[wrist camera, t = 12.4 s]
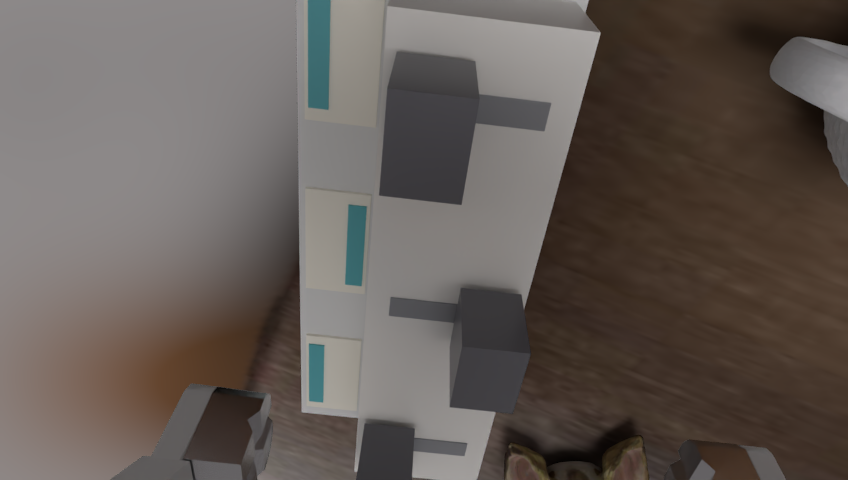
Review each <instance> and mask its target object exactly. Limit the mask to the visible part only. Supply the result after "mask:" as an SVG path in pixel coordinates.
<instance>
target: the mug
mask: <svg viewBox="0 0 848 480" xmlns="http://www.w3.org/2000/svg"><path fill="white" fill-rule="evenodd" d="M770 76H771V79H772V80H773V81H774V82H775V83H777V84H778V85H779V86H781V87H782V88H784V89H785V90H787V91H789V92H791V93H792V94H794V95H796V96H798V97H800V98H802V99H804V100H805V101H807V102H809V103H811V104H813V105H815V106H817V107H819V108H821V109H823V110H824V134H825V136H826V138H827V148H828V149H829V151H830V152H831V154H832V159H833V162H834V164H835V165H836V166H837V168H838V170H839V174H840V176H841V178H842V180H843V181H844V182H845V183H846V184H847V186H848V46H845V45H840V44H836V43H833V42H829V41H826V40H819V39H813V38H807V37H795V38H792V39H791V40H789V41H788V42H787V43H786V44H785V45H784V46H783V47H782V48H781V49H780V50H779V51H778V53H777V54H776V56H775V58H774V59H773V61H772V63H771V66H770Z"/></svg>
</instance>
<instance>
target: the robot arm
mask: <svg viewBox="0 0 848 480" xmlns="http://www.w3.org/2000/svg"><path fill="white" fill-rule="evenodd" d="M270 409H271V396H270V394H266V393H259V392H252V391H245V390H238V389H230V388H223V387H215V386H207V385H199V384H190V386H189V387H188V388H187V389H186V390H185V391H184V393H183V395H182V397H181V399H180V401H179V403H178V405H177V407H176V409H175V411H174V413H173V414H172V417H171V418H170V420H169V422H168V424H167V426H166V428H165V430H164V432H163V434H162V436H161V438H160V440H159V442H158V444H157V446H156V448H155V450H154V452H153V454H152V456H151V457H150V456H142V457H141V458H139V459H138V460H137V461H135V462H134V463H133V464H131V465H130V466H128V467H127V468H126V469H124V470H123V471H121V472H120V473H119V474H117V475H116V476H114V477H113V478H112V479H110V480H257V476H258V475H259V474H260V473H261V472H262V471H264V470H265V467H266V464H267V460H268V457H269V452H270V447H271V442H272V432H273V425H272V420H271V419H270V418H269V417H268V415H269V412H270ZM678 452H679V455H680V458H681V459H680V460H678V461H676V462H674V463H672V464H670V466H669V468H668V470H667V472H666V474H665V476H664V480H786V479H785V477H784V475H783V473H782V471H781V469H780V467H779V466H778V464H777V462H776V460H775V458H774V456H773V455H772V453H771V452H770V451H769V450H768V449H767V448H761V447H752V446H743V445H736V444H729V443H719V442H709V441H698V440H687V441H685V442H683V443H682V445H681V447H680V448H679V450H678Z"/></svg>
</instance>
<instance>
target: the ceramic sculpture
mask: <svg viewBox="0 0 848 480" xmlns="http://www.w3.org/2000/svg"><path fill="white" fill-rule="evenodd" d="M504 480H649V474H648V469H647V460H646V454H645V447H644V441H643V437H642V436H641V435H635V436H633V437H631V438H628V439H626V440H623V441H621V442H619V443H617V444H615V445H614V446H612V447H610V448H609V449H607V450H606V452H605V453H604V454H603V457H602V469H601V468H600V467H598V466H596V465H594V464H592V463H589V462H583V461H569V462H560V463H556V464H553V465H550V466H548V467H547V466H546V462H545V459H544V458H543V457H542V455H540V454H539V453H537V452H535V451H533V450H531V449H529V448H527V447H524V446H521V445H518V444H516V443H510V444H509V446H508V450H507V452H506V454H505V461H504Z"/></svg>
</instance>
